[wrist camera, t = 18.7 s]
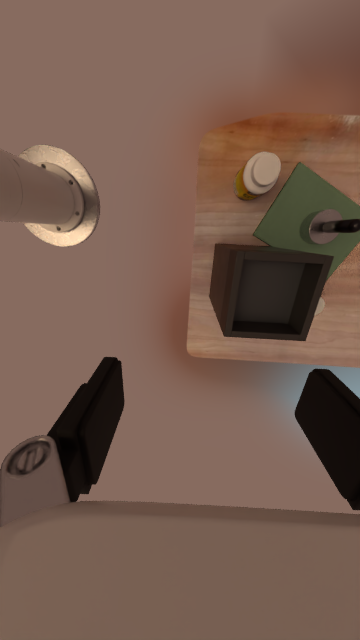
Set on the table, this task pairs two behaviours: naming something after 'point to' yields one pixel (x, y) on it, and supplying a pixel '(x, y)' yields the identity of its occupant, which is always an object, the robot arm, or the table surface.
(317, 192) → the green mat
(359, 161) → the table surface
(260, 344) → the table surface
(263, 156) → the supplement bottle
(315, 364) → the table surface
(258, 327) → the black box
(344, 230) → the meat pounder
